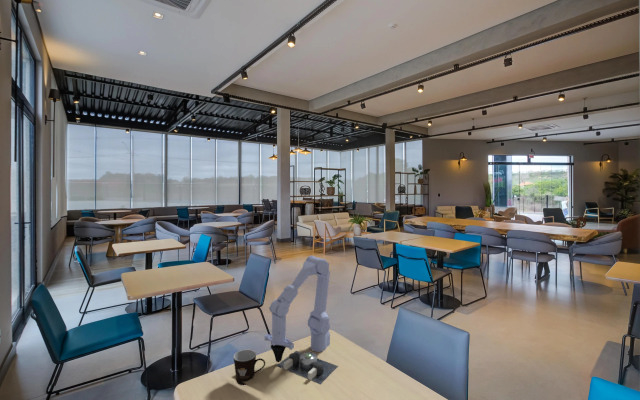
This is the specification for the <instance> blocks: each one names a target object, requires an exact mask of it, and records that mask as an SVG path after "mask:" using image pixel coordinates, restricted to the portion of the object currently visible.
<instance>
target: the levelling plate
mask: <svg viewBox="0 0 640 400" xmlns="http://www.w3.org/2000/svg"><path fill="white" fill-rule="evenodd" d="M293 353H298V354H299V364H298V365H295V366H293V365H292V366H291V367H290V368H289V369H287V370H286V371H287V372H289V373H292V374H295V375H297V376H300V377H302V378H305V379H306V380H309V379H308V372H309V371H310V370H311V369H312V368H313V363H314V362H322V363H323V374H321V375H316V376H315V377H314V378H313V379H312V380H310V381H311V382H313V383H316V384H319V385H321V384H323V383H324V382H325V381H326V380H327V378H329V376H330V375H331V374H332V373H334V371H336V369H337V368H339V366H338V365H337V364H333V363H331V362H328V361H326V360H323V359H320V358H318V355H317V354H316V353H315V352H313V351H312V352H311V351H308V352H307V351H306V352H300V351H297V350H295V351H294V352H293ZM288 359H289V356H287V357H286V358H285V359H283V360H281V361H280V362H278V364H276V365H275V366H276V367H278V368H280V369H283V370H285V369H284V362H286V361H287V360H288Z"/></svg>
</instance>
